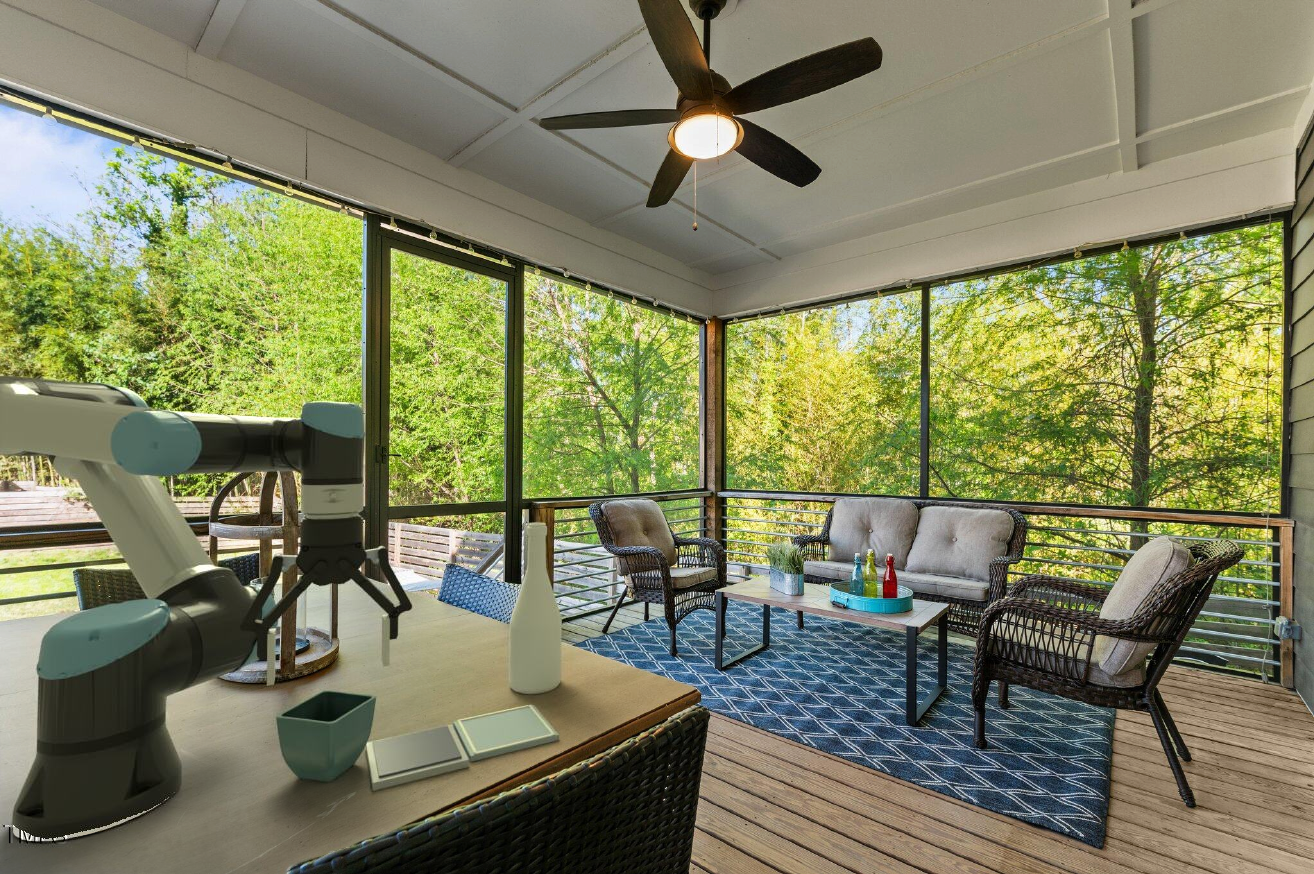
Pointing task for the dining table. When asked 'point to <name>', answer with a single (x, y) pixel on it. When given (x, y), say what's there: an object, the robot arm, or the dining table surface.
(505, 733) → the board
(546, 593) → the wine bottle
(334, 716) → the flower pot
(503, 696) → the dining table surface
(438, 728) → the ink pad
